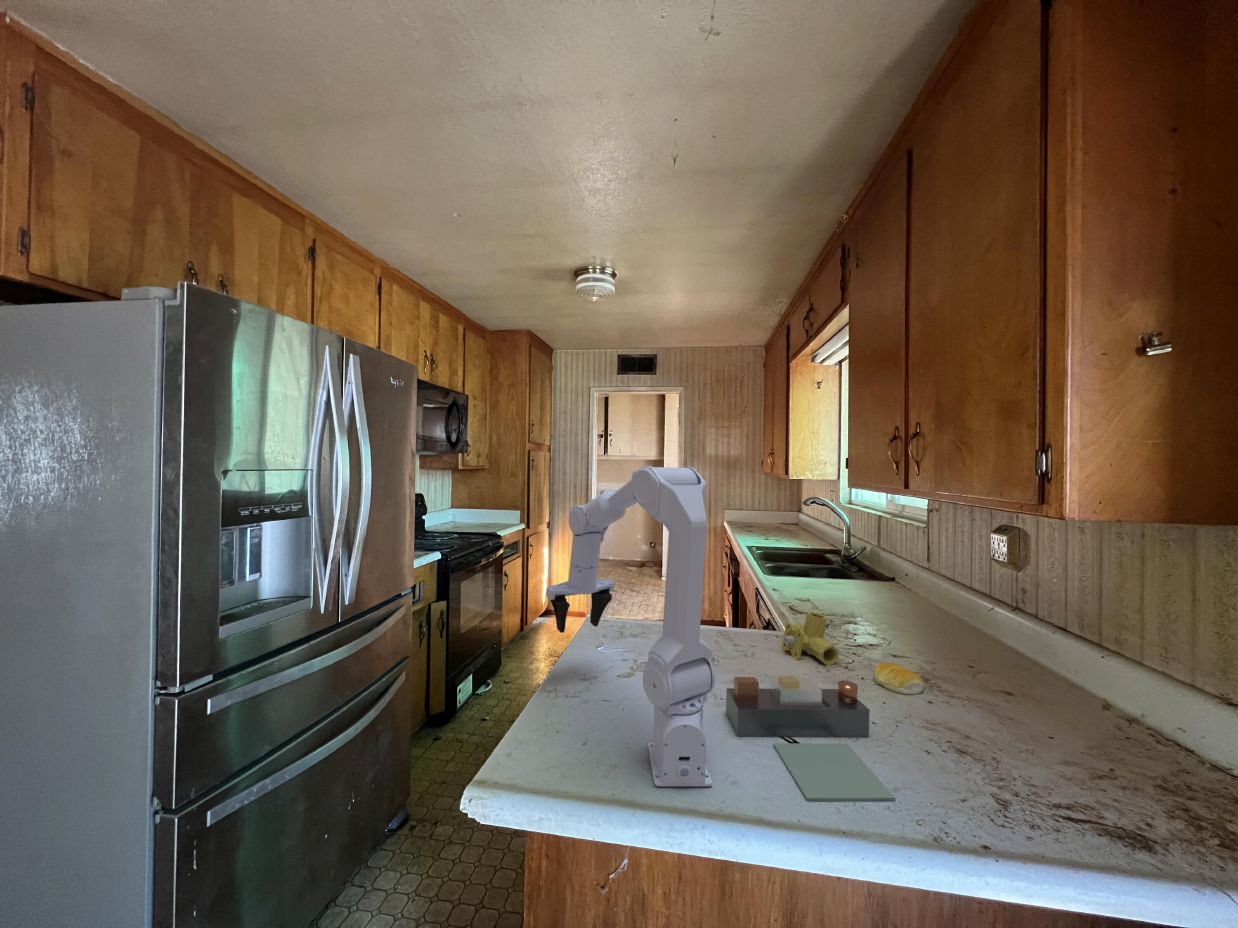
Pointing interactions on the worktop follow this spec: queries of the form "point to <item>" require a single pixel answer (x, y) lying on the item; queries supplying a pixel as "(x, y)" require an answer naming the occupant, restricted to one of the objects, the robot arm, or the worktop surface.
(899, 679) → the bread roll
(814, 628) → the yellow pipe fitting
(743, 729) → the hand plane
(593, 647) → the worktop surface
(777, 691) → the lever cap
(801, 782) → the rubber mat
